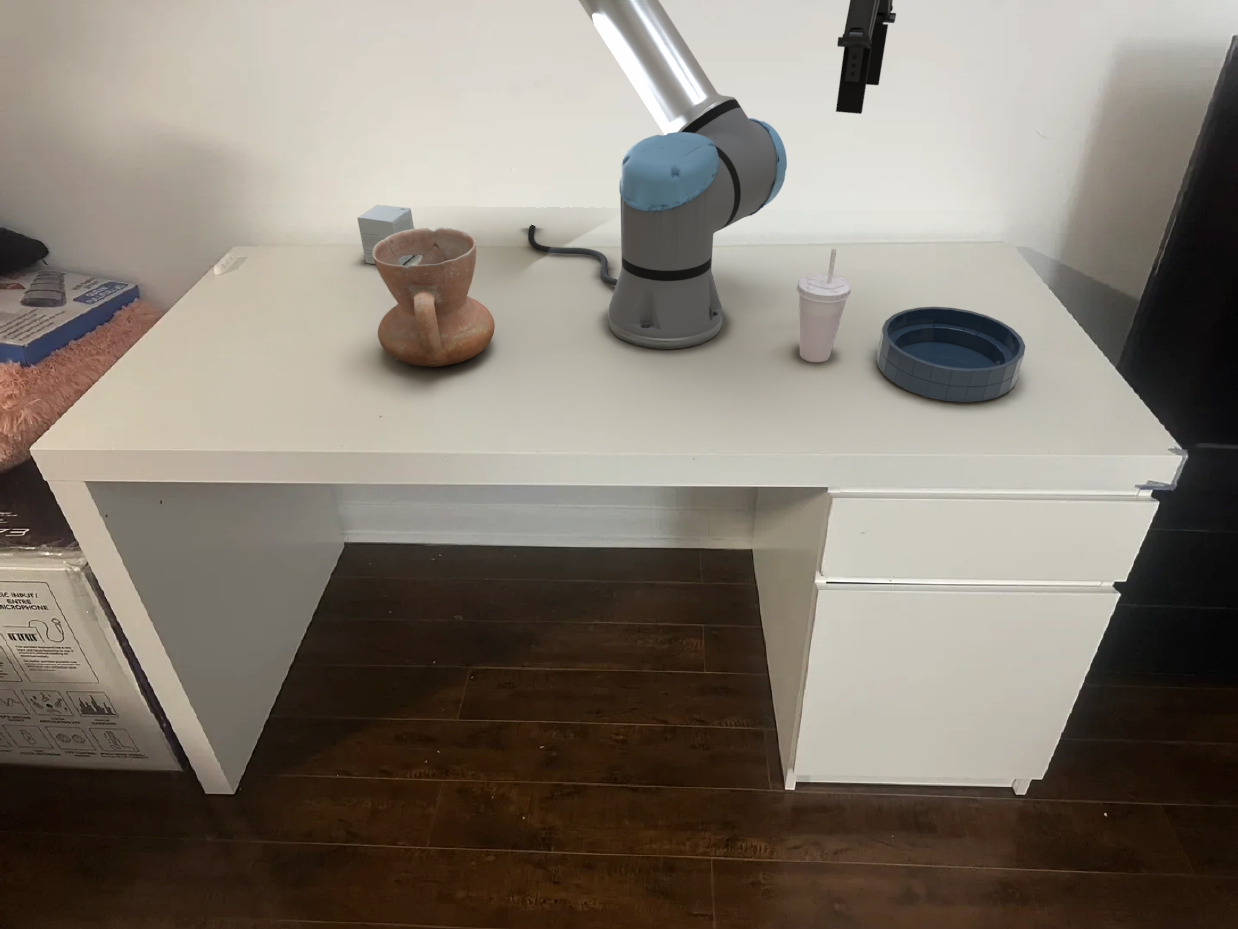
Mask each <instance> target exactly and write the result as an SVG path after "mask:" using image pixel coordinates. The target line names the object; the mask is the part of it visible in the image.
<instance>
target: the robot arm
mask: <svg viewBox="0 0 1238 929" xmlns="http://www.w3.org/2000/svg"><path fill="white" fill-rule="evenodd" d="M578 2H579V3H580V6H582V9H583V10H584V11H585V13H586V15H587V16H588V18H589V19H590V20H591V22H592V24H593V26H594V27H595V28H596V30H597V32H598V33H599V35H600V36H601V38H602V40H603V41H604V42H605V44H606V46H607V47H608V48H609V51H611V53H612V55H613V56H614V58H615V60H616V61H617V62H618V64H619V66H620V67H621V70H623V72H624V74H626V77H627V78H628V79H629V82H630V83H631V84H632V86H633V87H634V89H635V90H636V92H637V94H638V95H639V97H640V98H641V100H642V101H643V103H644V105H645V106H646V108H647V109H648V111H649V112H650V114H651V115H652V118H654V120H655V122H656V123H657V125H658V126H659V128H660V130H661V131H662V133H663V134H664V135H663V134H655V135H651V136H648V137H646V138H643V139H641V140H639V141H637V142H636V143H634V144H633V145H631V147H629V149H628V150H627V151H626V152H625V154H624V155H623V159H622V160H621V167H620V168H621V172H620V174H621V175H620V179H619V185H618V187H619V196H620V246H621V247H620V248H621V268H620V272H619V274H618V277H617V278H615V277H611V276H610V275H608V266H609V261H608V258H607V257H606V255H605V254H604V253H602V252H600V251H598V250H595V249H591V248H585V247H565V246H563V247H562V246H561V247H559V246H547V245H542V244H539V243H538V242H537V241H536V238H535V232H536V228H537V226H536V225H535V224H534V225H535V226H534V225H532V224H530V225H531V226H530V225H529V228H528V233H527V239H528V240H527V241H528V243H529V245H530V247H532V249H534V250H536V251H538V252H542V253H546V254H554V255H555V254H556V255H557V254H558V255H583V256H590V257H594V258H596V259H598V260H599V261H600V263H601V265H600V270H599V276H600V277H601V279H602V282H605V284H609V285H611V286H614V290H613V294H612V296H611V299H610V302H609V305H608V312H607V313H608V315H607V316H608V328H609V329H610V331H611V332H612V333H613V334H614V335H615V336H616V337H618V338H619V339H621V340H623V341H624V342H626V343H630V344H632V345H635V346H639V347H644V348H650V349H657V350H658V349H659V350H664V349H665V350H674V349H683V348H684V349H685V348H689V347H693V346H697V345H700V344H703V343H705V342H707V341H709V340H711V339H713V338H714V337H715V336H716V335H718V333H719V332H720V331H721V329H722V325H723V307H722V302H721V298H720V295H719V293H718V292H719V291H718V289H717V285H716V281H715V278H714V274H713V271H712V263H713V262H712V261H713V246H714V244H713V243H714V235H715V233H717V232H718V231H721V230H723V229H725V228H727V227H729V226H730V225H732V224H735V223H737V222H738V221H741V220H742V219H744V218H747V217H749V216H750V217H751V216H754V215H755V214H757V213H758V212H759V211H760V210H762V209H763V208H764V207H765V206H767V205H769V203H771V202H772V201H773V200H774V199H775V198H776V197H777V195H779V193H780V191H781V190H782V187H783V185H784V182H785V179H786V172H787V168H788V159H787V153H786V147H785V145H784V142H783V140H782V138H781V136H780V135H779V133H778V132H777V131H776V129H775V128H774V127H773V126H772V125H770V123H768V122H766V121H764V120H759V119H757V118H753V117H748V115H747V114H746V112H745V111H744V109H743V107H742V106H741V104H740V103H739V101H738V100H737V99H736V97H734V96H730V95H729V96H728V95H722V94H720V93H718V91H717V90H716V88H715V86H714V85H713V84H712V81H710V79H709V77H708V76H707V74H706V72H705V71H704V69H703V68H702V65H701V64H700V63H699V62H698V60H697V58H696V57H695V55H694V53H693V52H692V50H691V49H690V47H689V46H688V44H687V43H686V41H685V40H684V38H683V36H682V35H681V34H680V31H679V30H678V29H677V27H676V26H675V24H674V22H673V21H672V19H671V18H670V16H669V14H668V13H667V12H666V10H665V8H664V7H663V5H662V3H661V2H660V0H578ZM893 2H894V0H849V5H848V10H847V14H846V15H847V16H846V20H845V24H844V31H843V34H842V36H838V38H837V47H838V48H843V54H842V62H841V69H840V76H839V85H838V92H837V99H836V108H835V112H836V113H847V114H859V115H861V114H862V113H863V108H864V102H865V95H866V94H865V93H866V88H867V86H868V85H869V86H879V84H880V80H881V73H882V67H883V60H884V53H885V47H886V41H887V36H888V30H889V28H888V27H889V24H895V22H896V18H897V12H893V10H894V6H893Z"/></svg>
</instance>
